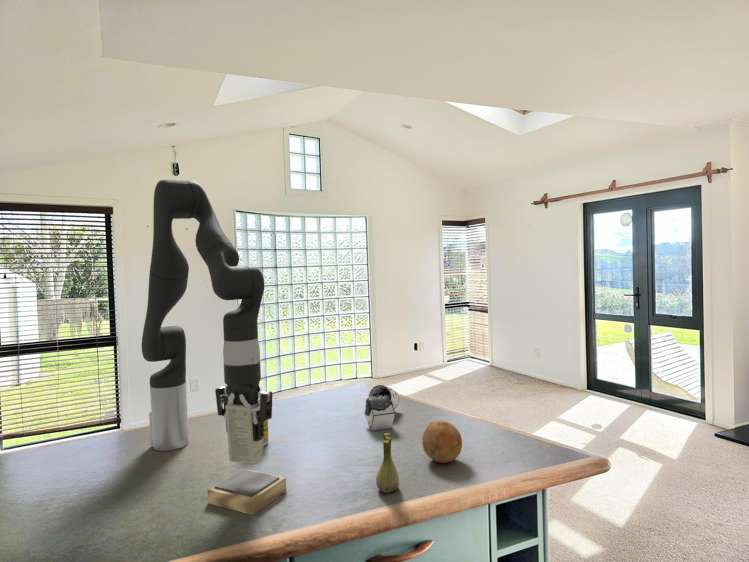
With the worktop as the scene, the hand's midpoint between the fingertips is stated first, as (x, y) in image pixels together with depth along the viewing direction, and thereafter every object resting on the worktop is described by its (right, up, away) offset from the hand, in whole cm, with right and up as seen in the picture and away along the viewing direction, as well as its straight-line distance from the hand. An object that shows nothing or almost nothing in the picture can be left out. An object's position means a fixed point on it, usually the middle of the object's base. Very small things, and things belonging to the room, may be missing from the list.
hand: (245, 437), depth 104 cm
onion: (+44, -11, +16) cm, 49 cm away
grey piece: (+31, -10, +49) cm, 59 cm away
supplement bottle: (-5, -12, +31) cm, 34 cm away
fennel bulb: (+30, -12, +2) cm, 33 cm away
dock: (0, -13, +1) cm, 13 cm away
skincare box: (0, -5, 0) cm, 5 cm away
